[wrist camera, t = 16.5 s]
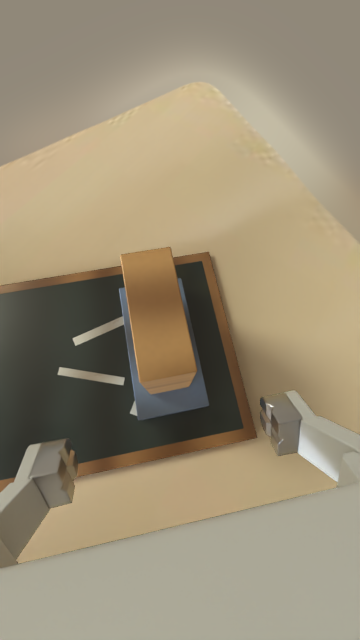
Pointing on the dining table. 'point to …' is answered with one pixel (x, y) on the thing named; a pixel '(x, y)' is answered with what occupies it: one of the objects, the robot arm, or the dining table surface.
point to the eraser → (159, 336)
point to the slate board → (107, 373)
